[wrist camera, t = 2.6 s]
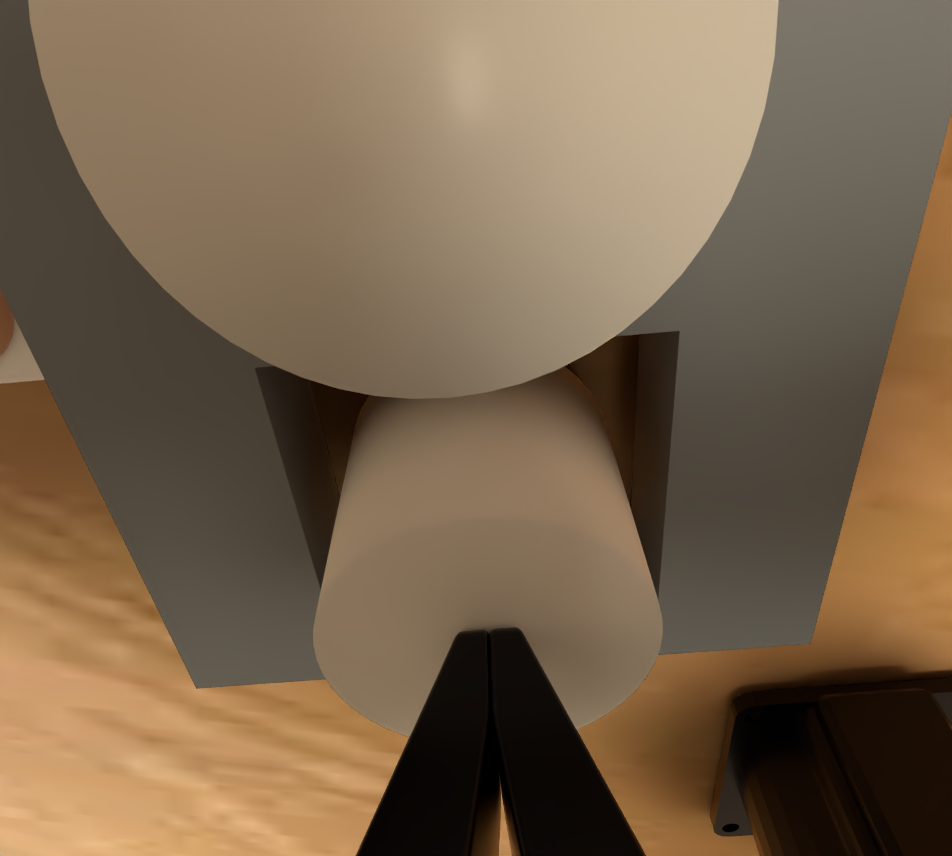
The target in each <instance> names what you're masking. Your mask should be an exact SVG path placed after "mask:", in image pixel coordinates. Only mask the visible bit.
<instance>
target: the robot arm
mask: <svg viewBox="0 0 952 856" xmlns="http://www.w3.org/2000/svg"><path fill="white" fill-rule="evenodd" d="M501 791H502V799H503V805H504V812H505V819H506V824H507V830H508V835H509V841H510V846H511V852H512V856H646V855H645V853H644V851H643V849H642V847H641V845H640V844H639V842H638V840H637V838H636V836H635V835H634V833H633V831H632V829H631V827H630V826H629V824H628V822H627V820H626V818H625V816H624V815H623V813H622V811H621V809H620V807H619V806H618V804H617V802H616V800H615V798H614V797H613V795H612V793H611V791H610V789H609V788H608V786H607V784H606V782H605V780H604V778H603V777H602V775H601V773H600V771H599V769H598V768H597V766H596V764H595V762H594V760H593V759H592V757H591V755H590V753H589V751H588V749H587V748H586V746H585V744H584V742H583V740H582V739H581V737H580V735H579V733H578V731H577V730H576V728H575V726H574V724H573V722H572V720H571V719H570V717H569V715H568V713H567V711H566V710H565V708H564V706H563V704H562V702H561V701H560V699H559V697H558V695H557V693H556V691H555V690H554V688H553V686H552V684H551V682H550V681H549V679H548V677H547V675H546V673H545V672H544V670H543V668H542V666H541V664H540V662H539V661H538V659H537V657H536V655H535V653H534V652H533V650H532V648H531V646H530V644H529V643H528V641H527V639H526V637H525V635H524V634H523V632H522V631H521V630H520V629H519V628H517V627H511V628H497V629H493V630H491V631H490V633H488V632H487V631H486V630H470V631H461V632H459V633H458V634H457V635H456V636H455V638H454V640H453V642H452V645H451V647H450V649H449V651H448V653H447V656H446V658H445V660H444V662H443V664H442V667H441V669H440V671H439V673H438V675H437V678H436V680H435V682H434V684H433V686H432V689H431V691H430V693H429V695H428V697H427V700H426V702H425V704H424V706H423V709H422V711H421V713H420V715H419V717H418V720H417V722H416V724H415V726H414V728H413V731H412V733H411V735H410V737H409V739H408V742H407V744H406V746H405V748H404V750H403V753H402V755H401V757H400V759H399V761H398V764H397V766H396V768H395V770H394V772H393V775H392V777H391V779H390V781H389V783H388V786H387V788H386V790H385V792H384V794H383V797H382V799H381V801H380V803H379V805H378V808H377V810H376V812H375V814H374V816H373V819H372V821H371V823H370V825H369V827H368V830H367V832H366V834H365V836H364V838H363V841H362V843H361V845H360V847H359V850H358V852H357V854H356V856H499V839H500V820H501ZM710 818H711V822H712V825H713V829H714V832H715V833H716V834H717V835H720V836H743V835H753V836H754V839H755V842H756V845H757V848H758V851H759V854H760V856H952V678H940V679H926V680H912V681H898V682H884V683H870V684H856V685H842V686H827V687H813V688H799V689H785V690H771V691H757V692H749V693H744V694H742V695H739V696H737V697H736V698H735V699H734V700H732V702H731V704H730V708H729V714H728V719H727V725H726V730H725V736H724V741H723V747H722V752H721V758H720V763H719V769H718V774H717V780H716V785H715V791H714V796H713V801H712V807H711V812H710Z"/></svg>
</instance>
